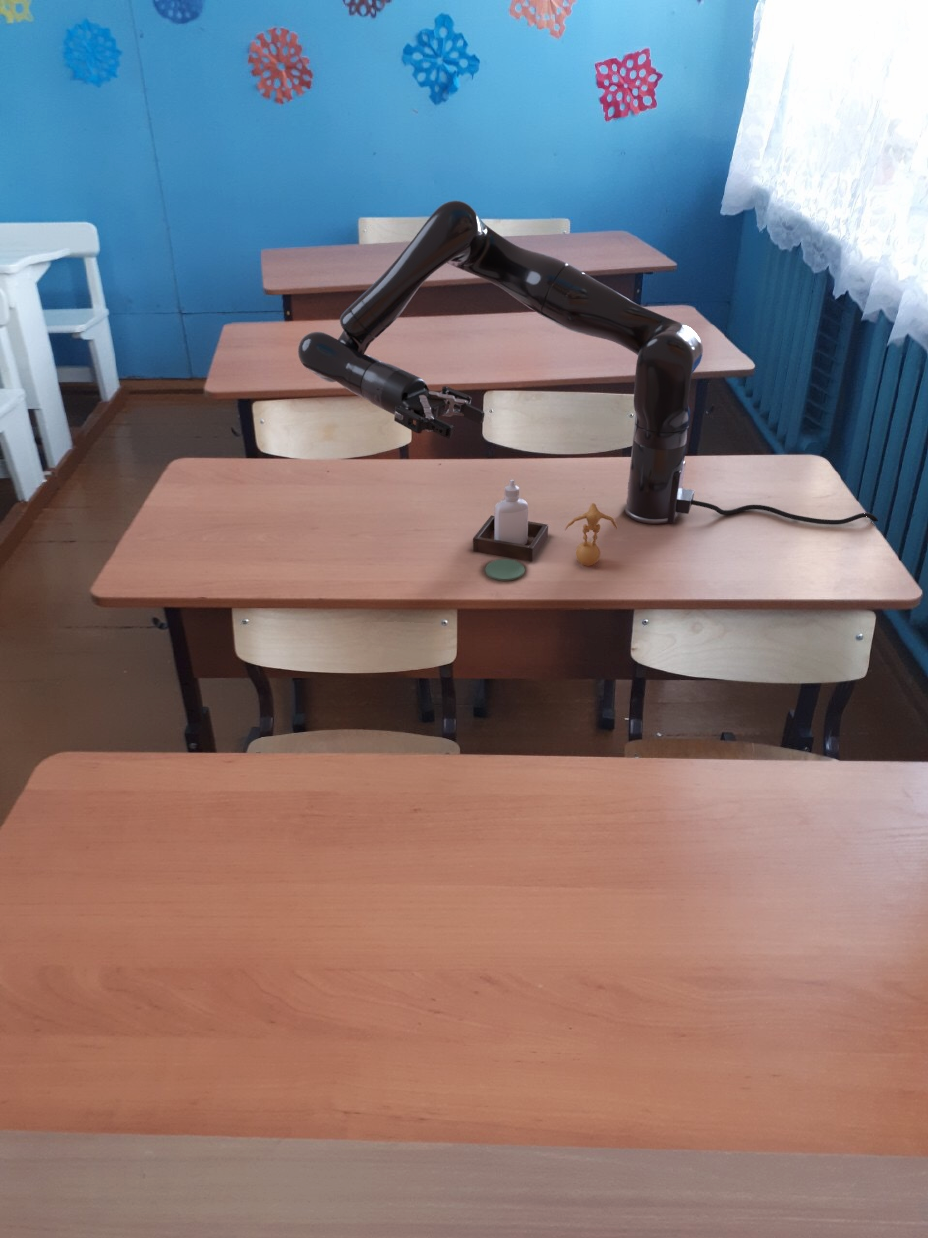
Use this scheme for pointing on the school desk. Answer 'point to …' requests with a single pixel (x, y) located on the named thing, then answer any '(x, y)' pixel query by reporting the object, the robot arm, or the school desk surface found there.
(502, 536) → the eye dropper bottle
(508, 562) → the coaster
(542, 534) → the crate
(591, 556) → the figurine
